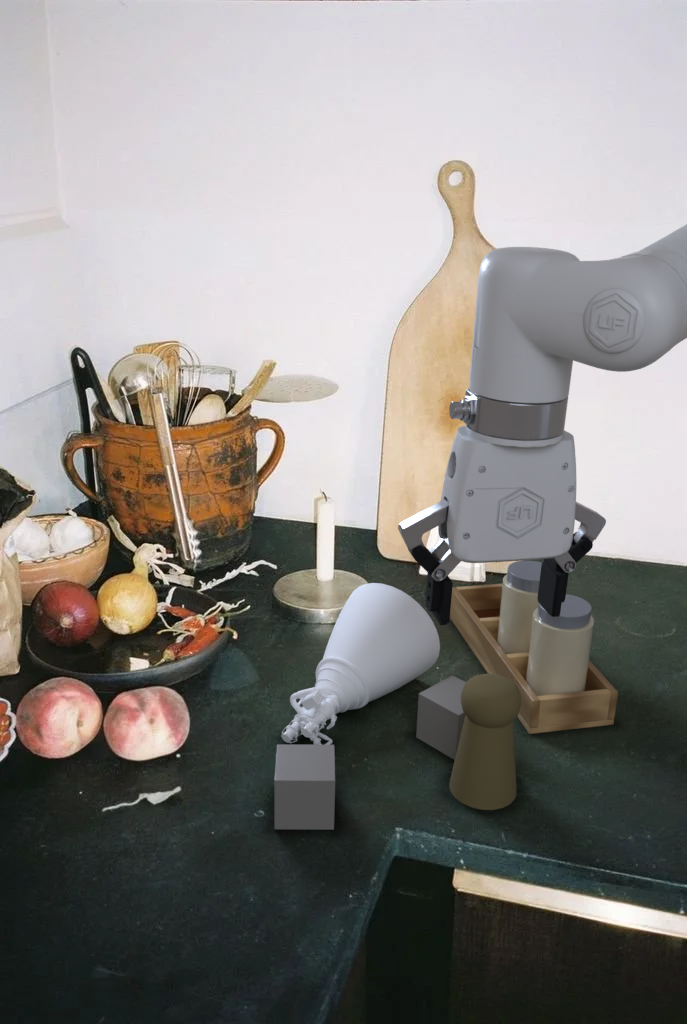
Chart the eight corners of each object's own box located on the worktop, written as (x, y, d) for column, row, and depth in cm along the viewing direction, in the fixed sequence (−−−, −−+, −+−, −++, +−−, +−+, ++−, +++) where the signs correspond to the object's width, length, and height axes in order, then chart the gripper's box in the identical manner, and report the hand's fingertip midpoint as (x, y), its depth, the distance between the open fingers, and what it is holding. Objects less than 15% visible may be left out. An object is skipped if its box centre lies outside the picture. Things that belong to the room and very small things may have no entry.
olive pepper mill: (447, 805, 82) (455, 697, 78) (450, 764, 88) (458, 661, 84) (517, 814, 81) (529, 705, 77) (516, 771, 87) (527, 667, 83)
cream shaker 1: (558, 670, 103) (569, 579, 99) (507, 675, 101) (516, 584, 97) (537, 644, 108) (546, 557, 104) (487, 648, 107) (495, 560, 103)
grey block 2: (488, 740, 91) (492, 695, 89) (455, 760, 88) (458, 715, 86) (449, 718, 95) (452, 675, 93) (415, 737, 91) (418, 693, 90)
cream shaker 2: (593, 712, 95) (606, 616, 91) (538, 718, 94) (549, 620, 90) (567, 681, 101) (579, 589, 97) (515, 687, 99) (525, 593, 95)
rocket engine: (288, 673, 83) (391, 567, 96) (226, 704, 92) (329, 603, 104) (367, 773, 84) (460, 655, 96) (299, 794, 92) (393, 684, 105)
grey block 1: (334, 829, 79) (335, 780, 77) (274, 829, 79) (274, 780, 77) (333, 791, 83) (334, 744, 82) (277, 791, 83) (277, 744, 81)
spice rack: (516, 609, 118) (519, 581, 116) (613, 724, 94) (618, 692, 93) (447, 615, 116) (449, 587, 114) (529, 734, 92) (532, 701, 91)
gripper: (421, 432, 67) (406, 643, 73) (642, 426, 70) (610, 627, 77) (394, 404, 73) (382, 599, 80) (596, 400, 77) (570, 587, 83)
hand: (494, 613), depth 78 cm, fingers open, 9 cm apart
